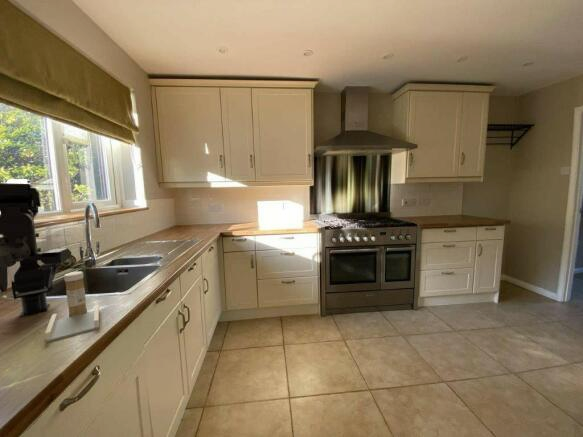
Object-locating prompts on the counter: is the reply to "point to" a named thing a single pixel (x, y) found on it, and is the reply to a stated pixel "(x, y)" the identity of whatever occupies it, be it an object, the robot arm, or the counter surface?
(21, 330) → the counter surface
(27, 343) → the counter surface
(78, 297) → the sprinkles bottle
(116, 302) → the counter surface
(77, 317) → the cradle board
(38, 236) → the robot arm
